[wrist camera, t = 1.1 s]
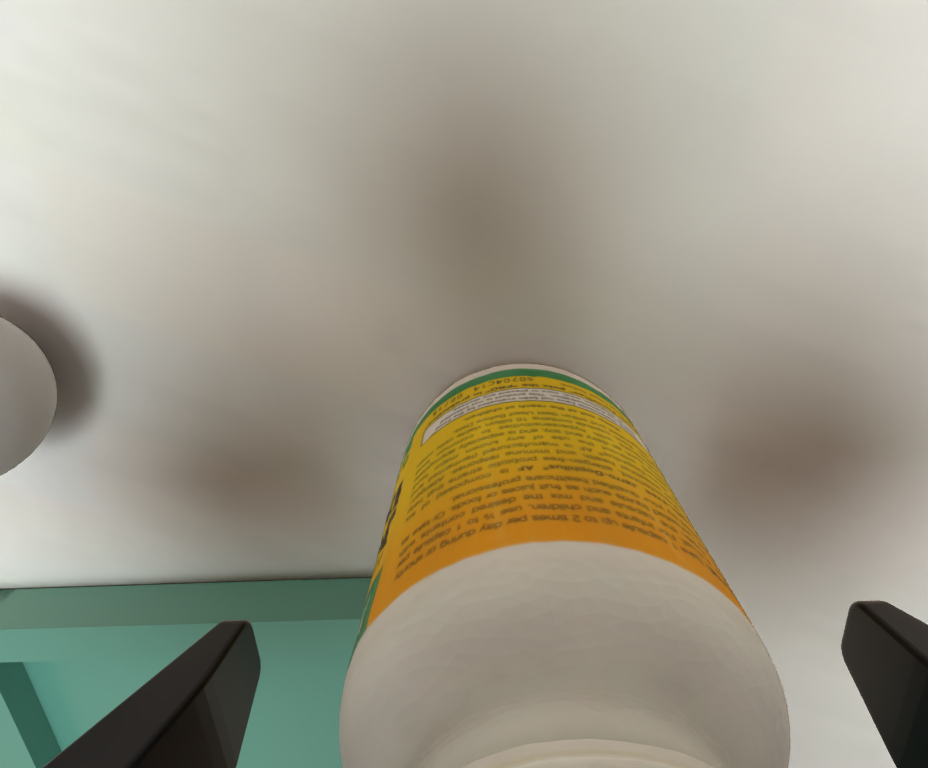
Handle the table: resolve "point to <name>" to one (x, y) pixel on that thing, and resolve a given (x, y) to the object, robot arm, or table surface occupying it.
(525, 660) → the supplement bottle
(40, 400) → the grey ball
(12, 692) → the tray
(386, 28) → the table surface
